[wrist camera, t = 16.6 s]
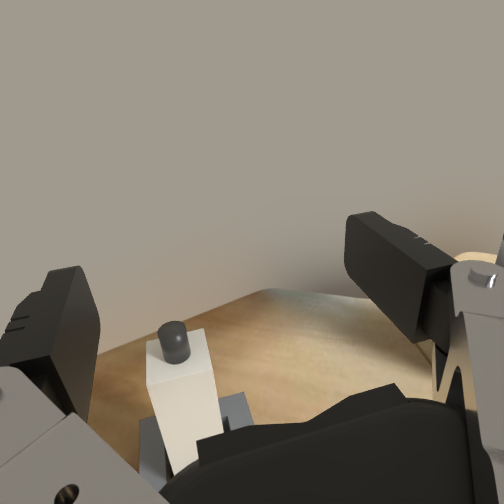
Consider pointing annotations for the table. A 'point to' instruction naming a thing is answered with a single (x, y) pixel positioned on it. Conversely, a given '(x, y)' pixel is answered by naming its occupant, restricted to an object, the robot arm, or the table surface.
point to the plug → (182, 391)
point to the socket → (153, 448)
